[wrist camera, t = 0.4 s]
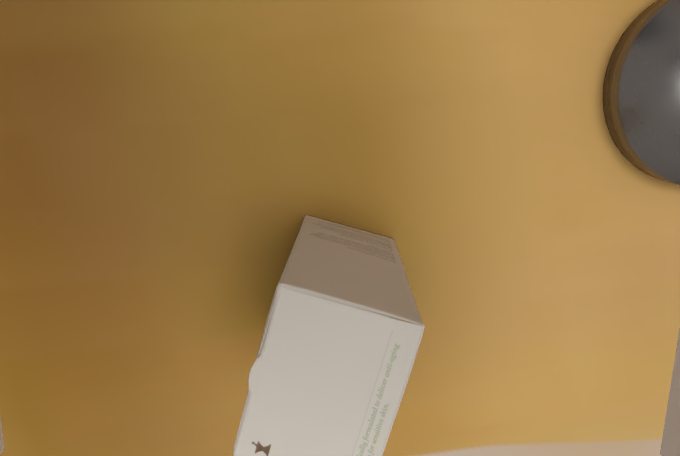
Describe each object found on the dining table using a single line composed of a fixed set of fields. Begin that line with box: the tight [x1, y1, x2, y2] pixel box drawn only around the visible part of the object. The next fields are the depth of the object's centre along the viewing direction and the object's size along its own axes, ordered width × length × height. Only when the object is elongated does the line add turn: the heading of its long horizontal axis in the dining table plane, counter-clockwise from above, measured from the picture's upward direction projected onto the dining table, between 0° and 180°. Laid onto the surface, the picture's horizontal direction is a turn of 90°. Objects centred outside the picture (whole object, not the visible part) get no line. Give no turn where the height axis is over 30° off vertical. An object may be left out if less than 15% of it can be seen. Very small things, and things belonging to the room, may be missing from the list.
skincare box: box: [233, 215, 425, 456], centre depth 32 cm, size 8×7×16 cm
